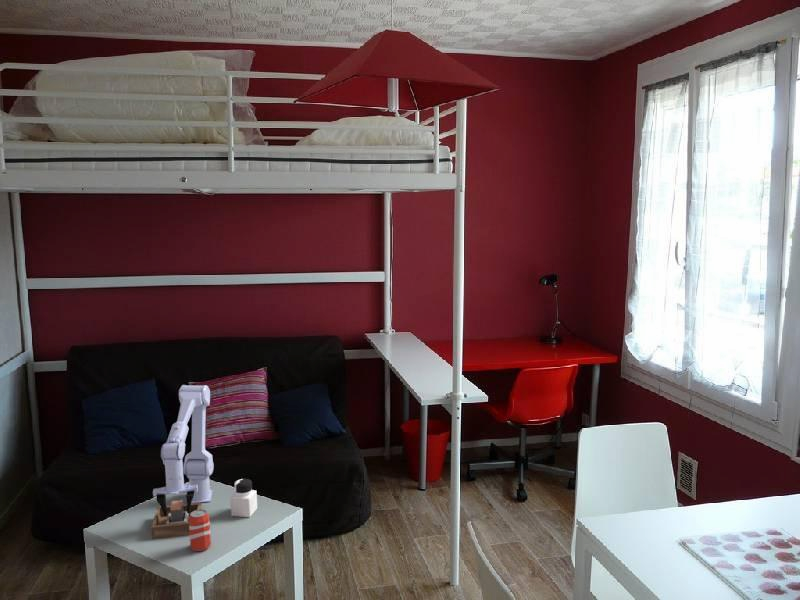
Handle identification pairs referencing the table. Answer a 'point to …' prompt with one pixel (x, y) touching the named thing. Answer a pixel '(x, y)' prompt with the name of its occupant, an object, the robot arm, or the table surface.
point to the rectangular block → (177, 511)
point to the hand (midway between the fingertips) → (177, 513)
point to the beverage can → (199, 530)
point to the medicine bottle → (243, 499)
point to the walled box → (169, 529)
